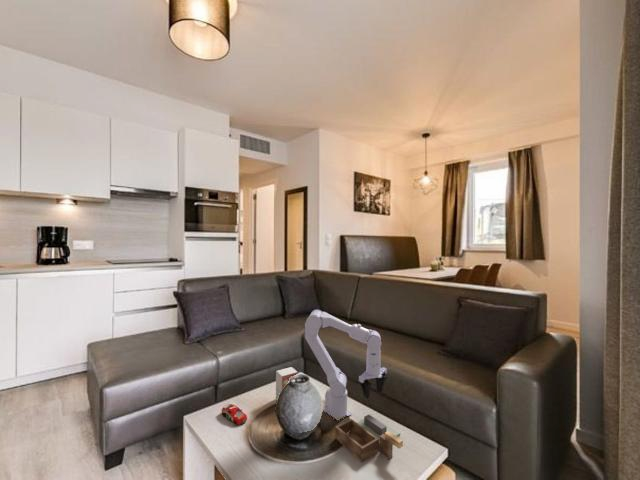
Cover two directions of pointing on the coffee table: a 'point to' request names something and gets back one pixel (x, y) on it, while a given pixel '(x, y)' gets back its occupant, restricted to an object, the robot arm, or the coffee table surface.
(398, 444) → the wooden block
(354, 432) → the toolbox
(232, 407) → the race car
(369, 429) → the toolbox lid
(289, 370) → the small box
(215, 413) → the coffee table surface
